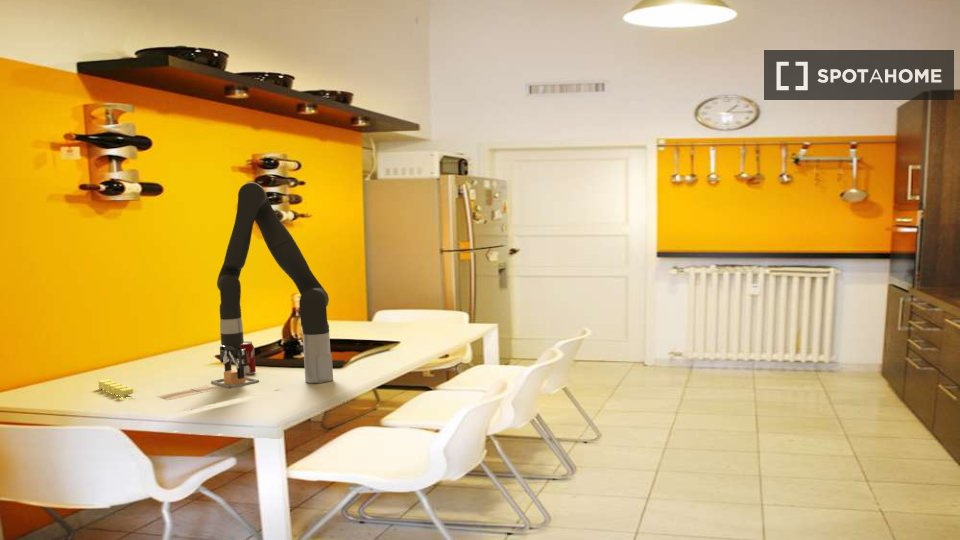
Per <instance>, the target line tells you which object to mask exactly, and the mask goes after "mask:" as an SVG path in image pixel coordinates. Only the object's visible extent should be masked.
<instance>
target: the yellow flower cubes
mask: <svg viewBox="0 0 960 540" xmlns="http://www.w3.org/2000/svg"><path fill="white" fill-rule="evenodd" d="M100 389H102V390H103V389H104V390H105V391H107V392H108V391H109V392H110V393H112V394H115V395H118V396H119V395H120V397H123V398H126V397H132V396H131V395H129V394H134V388H132V387H128V386H127V385H123V384H122V383H118V382H116V381H112V380H111V379H103V380H98V390H100ZM102 390H101V391H102ZM104 390H103V391H104ZM105 391H104V392H105ZM107 392H106V393H107ZM109 392H108V393H109ZM110 393H109V394H110ZM112 394H111V395H112ZM115 395H114V396H115ZM120 397H119V398H120Z"/></svg>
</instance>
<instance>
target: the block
mask: <svg viewBox="0 0 960 540" xmlns="http://www.w3.org/2000/svg"><path fill="white" fill-rule="evenodd" d="M245 377H246V375H245V370H244V378H242V379H238V377H237V368H235V369H232V370H229V371H225V370H224V371H223V379H224V381H223V382H224V383H223V384H226V385H230V386H232V385H236V384H241V383H245V382H246V379H245Z"/></svg>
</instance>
